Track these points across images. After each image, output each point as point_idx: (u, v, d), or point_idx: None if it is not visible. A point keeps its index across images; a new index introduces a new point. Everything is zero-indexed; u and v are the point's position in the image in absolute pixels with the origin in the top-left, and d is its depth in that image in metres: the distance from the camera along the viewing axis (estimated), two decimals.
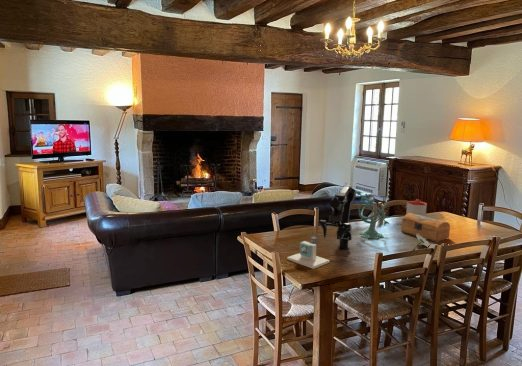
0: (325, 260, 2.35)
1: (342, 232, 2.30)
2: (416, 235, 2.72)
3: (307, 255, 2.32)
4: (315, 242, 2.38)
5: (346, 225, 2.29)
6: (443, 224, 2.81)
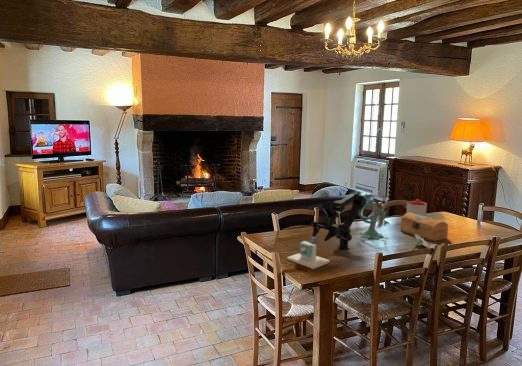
0: (325, 260, 2.35)
1: (328, 234, 2.39)
2: (415, 235, 2.72)
3: (307, 255, 2.32)
4: (315, 242, 2.38)
5: (333, 227, 2.38)
6: (440, 224, 2.82)
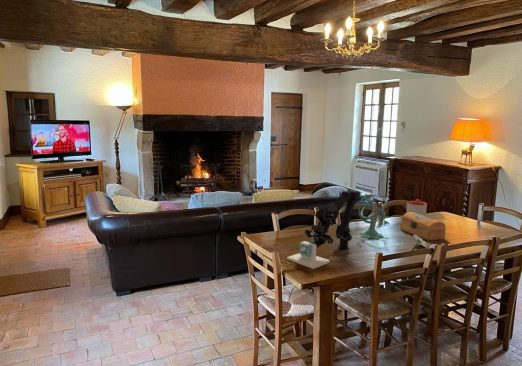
0: (325, 260, 2.35)
1: (317, 241, 2.38)
2: (413, 235, 2.72)
3: (307, 255, 2.32)
4: (315, 242, 2.38)
5: (326, 236, 2.35)
6: (436, 224, 2.82)
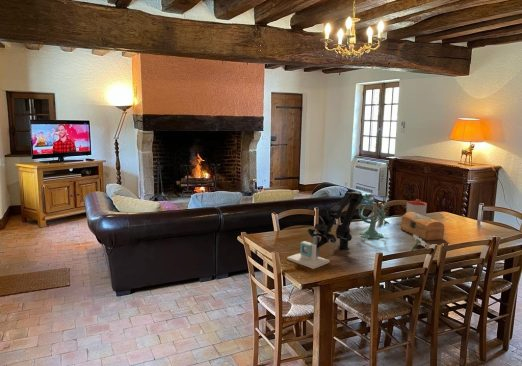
0: (325, 260, 2.35)
1: (321, 240, 2.40)
2: (413, 235, 2.71)
3: (308, 255, 2.33)
4: (317, 241, 2.39)
5: (329, 235, 2.37)
6: (434, 223, 2.82)
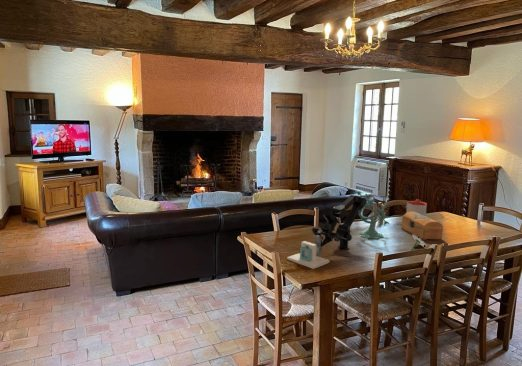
0: (325, 260, 2.35)
1: (324, 239, 2.42)
2: (412, 235, 2.71)
3: (307, 259, 2.33)
4: (320, 240, 2.41)
5: (333, 234, 2.39)
6: (432, 223, 2.83)
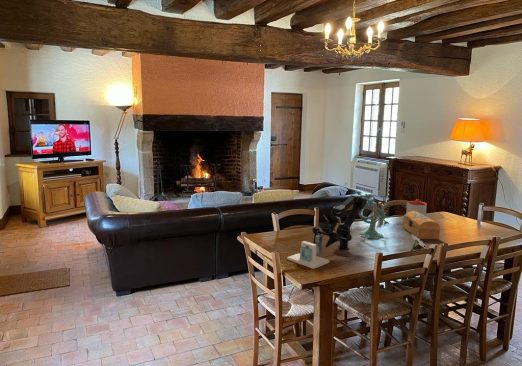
0: (325, 260, 2.35)
1: (329, 240, 2.41)
2: (411, 236, 2.71)
3: (307, 259, 2.33)
4: (320, 240, 2.41)
5: (333, 234, 2.40)
6: (428, 223, 2.84)
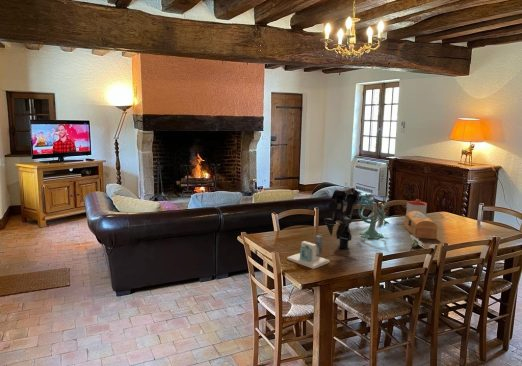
0: (325, 260, 2.35)
1: (344, 227, 2.50)
2: (410, 236, 2.70)
3: (307, 259, 2.33)
4: (320, 240, 2.41)
5: (349, 221, 2.50)
6: (425, 222, 2.85)
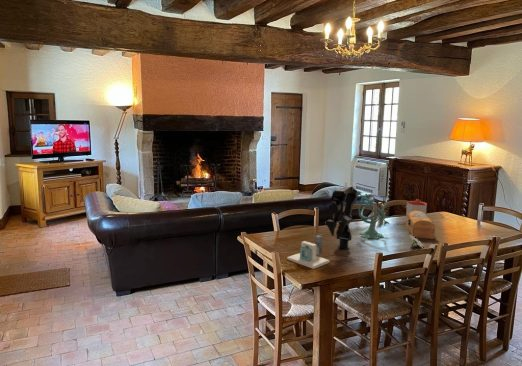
0: (325, 260, 2.35)
1: (344, 226, 2.50)
2: None
3: (307, 259, 2.33)
4: (320, 240, 2.41)
5: None
6: (422, 222, 2.86)
